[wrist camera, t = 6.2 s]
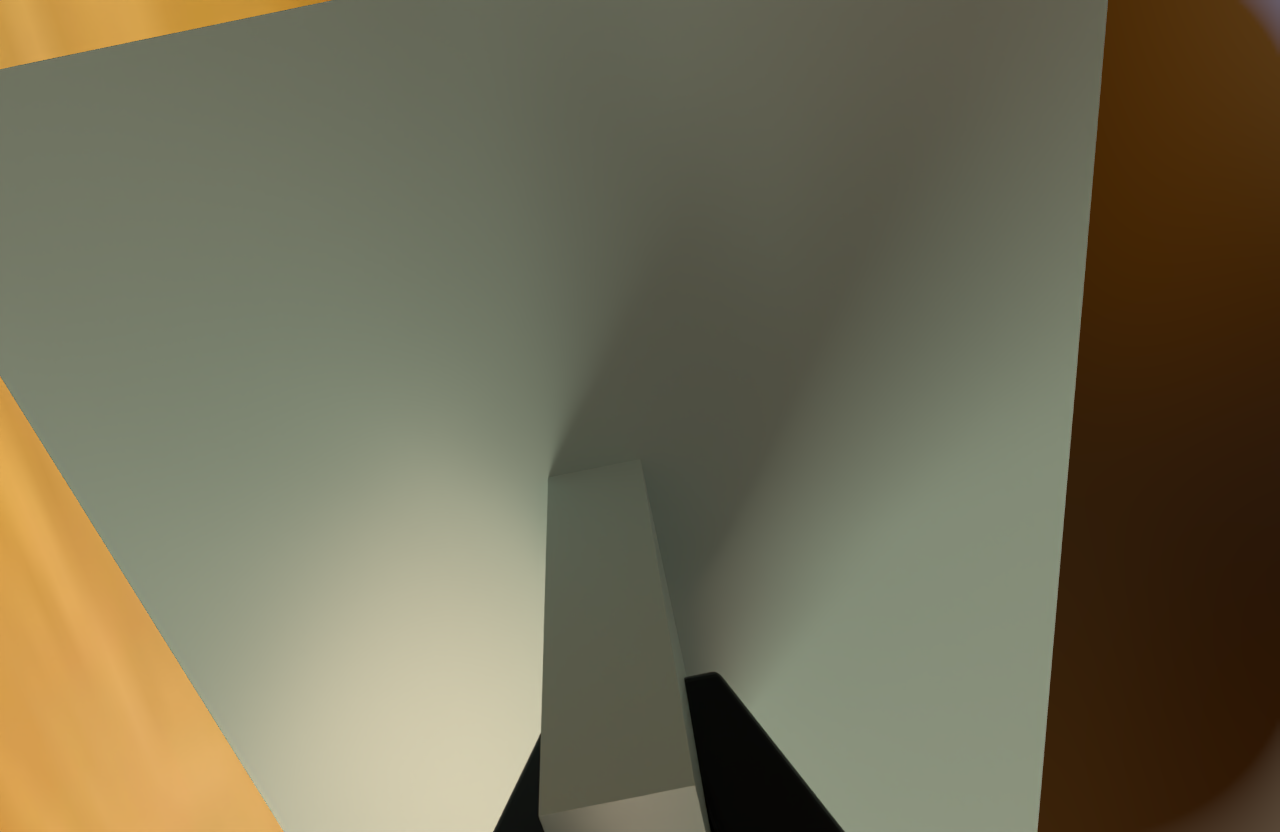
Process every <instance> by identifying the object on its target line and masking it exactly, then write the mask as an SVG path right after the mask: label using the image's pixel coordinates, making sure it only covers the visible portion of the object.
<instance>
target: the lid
mask: <svg viewBox="0 0 1280 832" xmlns="http://www.w3.org/2000/svg"><path fill="white" fill-rule="evenodd" d="M1107 5H1108V0H332V1H327V2H323V3H318V4H313V5H308V6H303V7H298V8H294V9H289V10H284V11H279V12H274V13H270V14H265V15H260V16H255V17H250V18H245V19H241V20H236V21H231V22H226V23H221V24H217V25H212V26H207V27H202V28H197V29H192V30H188V31H183V32H178V33H173V34H168V35H164V36H159V37H154V38H149V39H144V40H139V41H135V42H130V43H125V44H120V45H115V46H111V47H106V48H101V49H96V50H91V51H86V52H82V53H77V54H72V55H67V56H62V57H58V58H53V59H48V60H43V61H38V62H33V63H29V64H24V65H19V66H14V67H9V68H5V69H0V376H1V378H2V380H3V381H4V383H5V384H6V386H7V388H8V389H9V391H10V393H11V394H12V396H13V397H14V399H15V401H16V402H17V404H18V405H19V407H20V409H21V410H22V412H23V413H24V415H25V417H26V418H27V420H28V421H29V423H30V425H31V426H32V428H33V429H34V431H35V433H36V434H37V436H38V438H39V439H40V441H41V442H42V444H43V446H44V447H45V449H46V450H47V452H48V454H49V455H50V457H51V458H52V460H53V462H54V463H55V465H56V466H57V468H58V470H59V471H60V473H61V474H62V476H63V478H64V479H65V481H66V482H67V484H68V486H69V487H70V489H71V491H72V492H73V494H74V495H75V497H76V499H77V500H78V502H79V503H80V505H81V507H82V508H83V510H84V511H85V513H86V515H87V516H88V518H89V519H90V521H91V523H92V524H93V526H94V527H95V529H96V531H97V532H98V534H99V536H100V537H101V539H102V540H103V542H104V544H105V545H106V547H107V548H108V550H109V552H110V553H111V555H112V556H113V558H114V560H115V561H116V563H117V564H118V566H119V568H120V569H121V571H122V572H123V574H124V576H125V577H126V579H127V580H128V582H129V584H130V585H131V587H132V589H133V590H134V592H135V593H136V595H137V597H138V598H139V600H140V601H141V603H142V605H143V606H144V608H145V609H146V611H147V613H148V614H149V616H150V617H151V619H152V621H153V622H154V624H155V625H156V627H157V629H158V630H159V632H160V634H161V635H162V637H163V638H164V640H165V642H166V643H167V645H168V646H169V648H170V650H171V651H172V653H173V654H174V656H175V658H176V659H177V661H178V662H179V664H180V666H181V667H182V669H183V670H184V672H185V674H186V675H187V677H188V679H189V680H190V682H191V683H192V685H193V687H194V688H195V690H196V691H197V693H198V695H199V696H200V698H201V699H202V701H203V703H204V704H205V706H206V707H207V709H208V711H209V712H210V714H211V715H212V717H213V719H214V720H215V722H216V723H217V725H218V727H219V728H220V730H221V732H222V733H223V735H224V736H225V738H226V740H227V741H228V743H229V744H230V746H231V748H232V749H233V751H234V752H235V754H236V756H237V757H238V759H239V760H240V762H241V764H242V765H243V767H244V768H245V770H246V772H247V773H248V775H249V777H250V778H251V780H252V781H253V783H254V785H255V786H256V788H257V789H258V791H259V793H260V794H261V796H262V797H263V799H264V801H265V802H266V804H267V805H268V807H269V809H270V810H271V812H272V813H273V815H274V817H275V818H276V820H277V822H278V823H279V825H280V826H281V828H282V830H283V831H284V832H493V831H494V829H495V827H496V825H497V823H498V820H499V818H500V816H501V814H502V812H503V810H504V808H505V806H506V804H507V802H508V800H509V798H510V796H511V793H512V791H513V789H514V787H515V785H516V783H517V781H518V779H519V777H520V775H521V773H522V771H523V769H524V766H525V764H526V762H527V760H528V758H529V756H530V754H531V752H532V750H533V748H534V746H535V744H536V742H537V740H538V737H539V735H540V733H541V748H540V784H539V819H540V821H541V824H542V827H543V829H544V832H712V831H711V827H710V822H709V818H708V813H707V809H706V803H705V798H704V792H703V787H702V781H701V775H700V769H699V763H698V757H697V752H696V746H695V740H694V734H693V728H692V722H691V716H690V710H689V704H688V699H687V693H686V687H685V681H684V678H685V677H688V676H693V675H698V674H703V673H708V672H717V673H719V674H720V675H721V676H722V677H723V678H724V679H725V680H726V682H727V683H728V684H729V686H730V687H731V688H732V689H733V691H734V692H735V693H736V694H737V696H738V697H739V698H740V699H741V701H742V702H743V703H744V704H745V706H746V707H747V708H748V710H749V711H750V712H751V713H752V715H753V716H754V717H755V718H756V720H757V721H758V722H759V723H760V725H761V726H762V727H763V729H764V730H765V731H766V732H767V734H768V735H769V736H770V737H771V739H772V740H773V741H774V742H775V744H776V745H777V746H778V748H779V749H780V750H781V751H782V753H783V754H784V755H785V756H786V758H787V759H788V760H789V761H790V763H791V764H792V765H793V767H794V768H795V769H796V770H797V772H798V773H799V774H800V775H801V777H802V778H803V779H804V780H805V782H806V783H807V784H808V786H809V787H810V788H811V789H812V791H813V792H814V793H815V794H816V796H817V797H818V798H819V799H820V801H821V802H822V803H823V805H824V806H825V807H826V808H827V810H828V811H829V812H830V813H831V815H832V816H833V817H834V818H835V820H836V821H837V822H838V824H839V825H840V826H841V827H842V829H843V830H844V831H845V832H1037V828H1038V817H1039V805H1040V793H1041V782H1042V770H1043V758H1044V745H1045V735H1046V723H1047V711H1048V699H1049V687H1050V676H1051V664H1052V652H1053V641H1054V629H1055V616H1056V605H1057V593H1058V582H1059V570H1060V558H1061V546H1062V535H1063V523H1064V511H1065V499H1066V488H1067V487H1066V486H1067V476H1068V475H1067V474H1068V464H1069V452H1070V440H1071V429H1072V417H1073V405H1074V394H1075V393H1074V392H1075V381H1076V369H1077V357H1078V346H1079V334H1080V323H1081V310H1082V299H1083V288H1084V276H1085V263H1086V252H1087V240H1088V228H1089V217H1090V204H1091V194H1092V181H1093V170H1094V158H1095V146H1096V134H1097V123H1098V111H1099V99H1100V88H1101V76H1102V64H1103V52H1104V40H1105V29H1106V17H1107Z"/></svg>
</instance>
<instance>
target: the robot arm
mask: <svg viewBox="0 0 1280 832" xmlns="http://www.w3.org/2000/svg"><path fill="white" fill-rule="evenodd" d="M684 681H685V687H686V693H687V699H688V704H689V710H690V716H691V722H692V728H693V734H694V740H695V746H696V752H697V757H698V763H699V769H700V775H701V781H702V787H703V792H704V798H705V803H706V809H707V813H708V818H709V822H710V827H711V831H712V832H845V831H844V830H843V829H842V827H841V826H840V825H839V824H838V822H837V821H836V820H835V818H834V817H833V816H832V815H831V813H830V812H829V811H828V810H827V808H826V807H825V806H824V805H823V803H822V802H821V801H820V799H819V798H818V797H817V796H816V794H815V793H814V792H813V791H812V789H811V788H810V787H809V786H808V784H807V783H806V782H805V780H804V779H803V778H802V777H801V775H800V774H799V773H798V772H797V770H796V769H795V768H794V767H793V765H792V764H791V763H790V761H789V760H788V759H787V758H786V756H785V755H784V754H783V753H782V751H781V750H780V749H779V748H778V746H777V745H776V744H775V742H774V741H773V740H772V739H771V737H770V736H769V735H768V734H767V732H766V731H765V730H764V729H763V727H762V726H761V725H760V723H759V722H758V721H757V720H756V718H755V717H754V716H753V715H752V713H751V712H750V711H749V710H748V708H747V707H746V706H745V704H744V703H743V702H742V701H741V699H740V698H739V697H738V696H737V694H736V693H735V692H734V691H733V689H732V688H731V687H730V686H729V684H728V683H727V682H726V680H725V679H724V678H723V677H722V676H721V675H720V674H719V673H717V672H708V673H703V674H698V675H693V676H688V677H685V678H684ZM540 748H541V733H540V735H539V737H538V740H537V742H536V744H535V746H534V748H533V750H532V752H531V754H530V756H529V758H528V760H527V762H526V764H525V766H524V769H523V771H522V773H521V775H520V777H519V779H518V781H517V783H516V785H515V787H514V789H513V791H512V793H511V796H510V798H509V800H508V802H507V804H506V806H505V808H504V810H503V812H502V814H501V816H500V818H499V820H498V823H497V825H496V827H495V829H494V831H493V832H544V829H543V827H542V824H541V821H540V819H539V784H540Z"/></svg>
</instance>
